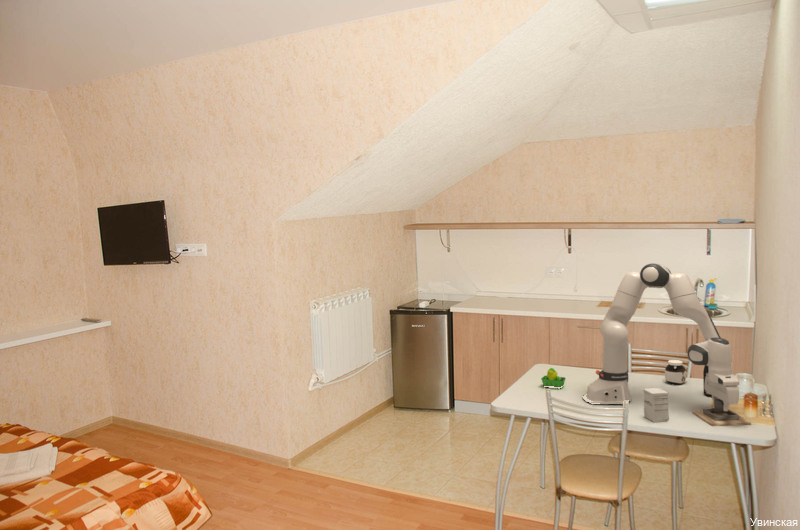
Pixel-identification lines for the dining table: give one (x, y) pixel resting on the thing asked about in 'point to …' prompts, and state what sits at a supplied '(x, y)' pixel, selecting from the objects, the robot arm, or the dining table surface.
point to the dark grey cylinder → (719, 406)
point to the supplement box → (656, 405)
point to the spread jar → (675, 372)
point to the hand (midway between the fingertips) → (720, 408)
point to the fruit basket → (553, 379)
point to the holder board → (720, 418)
